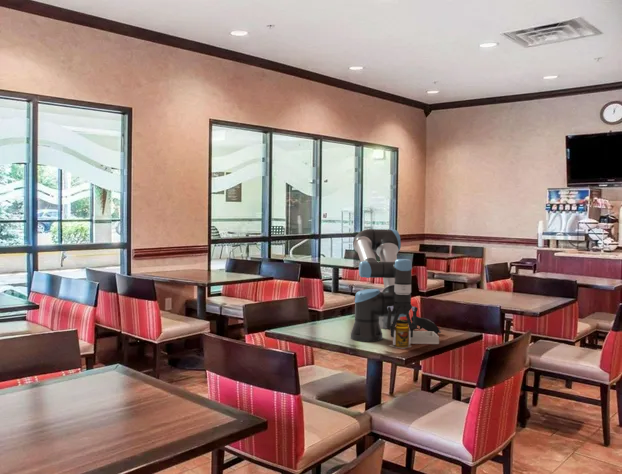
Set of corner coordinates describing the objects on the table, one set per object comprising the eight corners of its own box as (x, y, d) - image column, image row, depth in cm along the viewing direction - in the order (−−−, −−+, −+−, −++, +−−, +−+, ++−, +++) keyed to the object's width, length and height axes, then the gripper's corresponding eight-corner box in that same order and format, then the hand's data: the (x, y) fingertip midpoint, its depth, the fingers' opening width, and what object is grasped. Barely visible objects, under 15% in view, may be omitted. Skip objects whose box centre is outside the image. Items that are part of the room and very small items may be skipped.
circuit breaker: (396, 330, 302) (397, 301, 302) (371, 327, 310) (372, 298, 309) (402, 328, 309) (403, 299, 308) (377, 324, 316) (378, 297, 316)
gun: (434, 345, 293) (443, 328, 293) (405, 330, 293) (415, 313, 293) (432, 344, 296) (442, 327, 296) (404, 329, 296) (414, 312, 296)
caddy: (410, 343, 271) (411, 336, 271) (406, 338, 283) (406, 330, 283) (438, 344, 272) (439, 336, 271) (433, 338, 284) (433, 331, 283)
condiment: (403, 349, 260) (404, 322, 259) (387, 346, 266) (388, 319, 265) (412, 346, 265) (413, 320, 265) (397, 343, 271) (397, 317, 270)
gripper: (382, 294, 260) (381, 346, 261) (425, 294, 261) (424, 346, 262) (380, 292, 268) (379, 342, 269) (422, 292, 268) (420, 342, 269)
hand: (401, 344), depth 265 cm, fingers closed on condiment, 6 cm apart
